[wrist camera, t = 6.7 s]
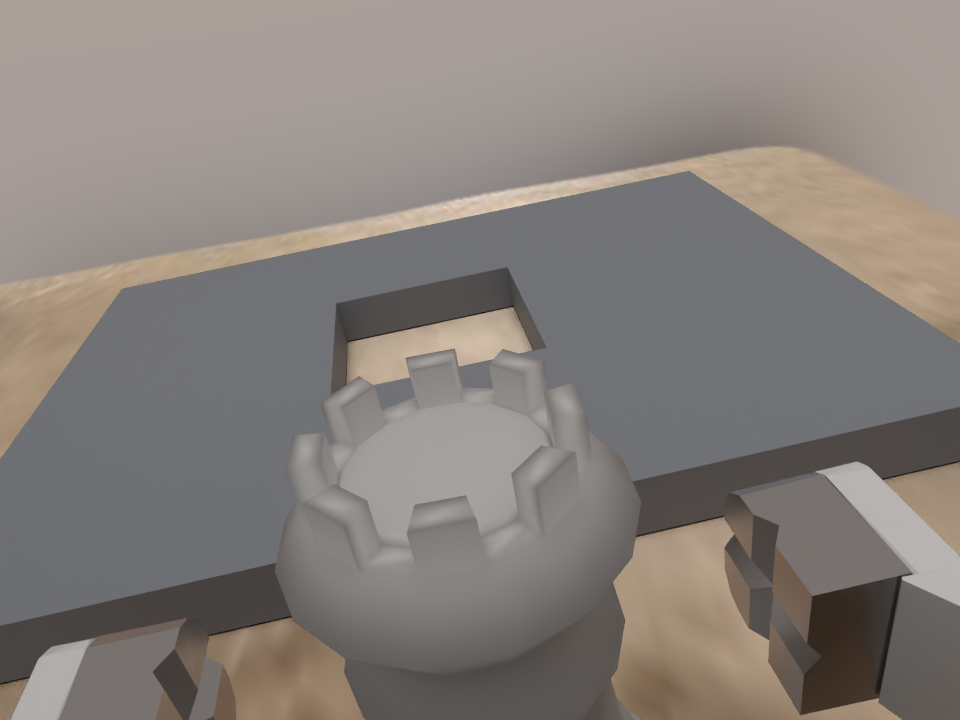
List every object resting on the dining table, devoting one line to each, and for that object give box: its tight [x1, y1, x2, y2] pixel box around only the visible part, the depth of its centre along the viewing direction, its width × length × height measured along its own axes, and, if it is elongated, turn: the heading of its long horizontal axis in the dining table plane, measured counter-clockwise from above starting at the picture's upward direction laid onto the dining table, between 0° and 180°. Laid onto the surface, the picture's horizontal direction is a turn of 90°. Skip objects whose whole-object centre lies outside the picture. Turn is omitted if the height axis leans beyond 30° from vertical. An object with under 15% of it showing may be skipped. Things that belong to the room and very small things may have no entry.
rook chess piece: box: [275, 349, 641, 720], centre depth 8 cm, size 4×4×8 cm
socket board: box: [0, 171, 960, 683], centre depth 23 cm, size 24×18×2 cm
